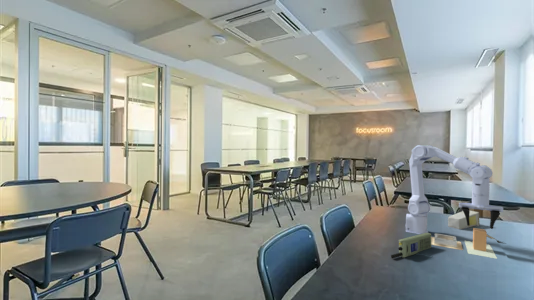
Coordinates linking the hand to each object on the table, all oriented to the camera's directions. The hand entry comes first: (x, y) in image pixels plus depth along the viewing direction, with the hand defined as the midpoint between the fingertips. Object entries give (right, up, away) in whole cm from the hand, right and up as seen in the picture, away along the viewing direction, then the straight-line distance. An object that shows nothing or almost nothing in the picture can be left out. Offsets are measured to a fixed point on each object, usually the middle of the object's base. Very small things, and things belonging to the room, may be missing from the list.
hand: (479, 226), depth 113 cm
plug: (0, -9, 0) cm, 9 cm away
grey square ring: (-10, -10, +6) cm, 15 cm away
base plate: (-10, -10, +6) cm, 15 cm away
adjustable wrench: (+20, -11, +19) cm, 29 cm away
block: (+19, -10, +36) cm, 42 cm away
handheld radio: (-31, -10, -4) cm, 33 cm away
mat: (0, -10, 0) cm, 10 cm away
